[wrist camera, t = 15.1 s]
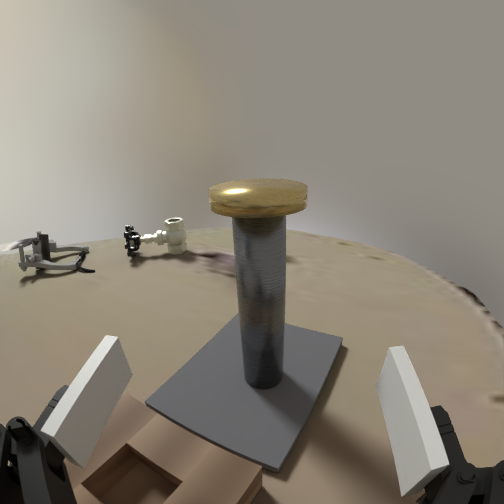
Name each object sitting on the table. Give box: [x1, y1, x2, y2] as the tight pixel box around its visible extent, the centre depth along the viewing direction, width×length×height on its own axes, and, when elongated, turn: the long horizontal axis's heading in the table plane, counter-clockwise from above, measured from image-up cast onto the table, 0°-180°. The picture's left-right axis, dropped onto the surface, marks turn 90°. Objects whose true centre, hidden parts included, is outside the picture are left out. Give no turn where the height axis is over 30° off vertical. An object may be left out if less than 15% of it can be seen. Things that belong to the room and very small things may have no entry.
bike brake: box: [18, 231, 95, 272], centre depth 52 cm, size 14×7×20 cm
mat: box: [145, 313, 343, 473], centre depth 26 cm, size 13×17×1 cm
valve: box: [124, 218, 187, 257], centre depth 56 cm, size 7×7×12 cm
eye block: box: [64, 393, 262, 504], centre depth 13 cm, size 12×12×4 cm
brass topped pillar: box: [209, 179, 307, 390], centre depth 22 cm, size 6×6×17 cm
